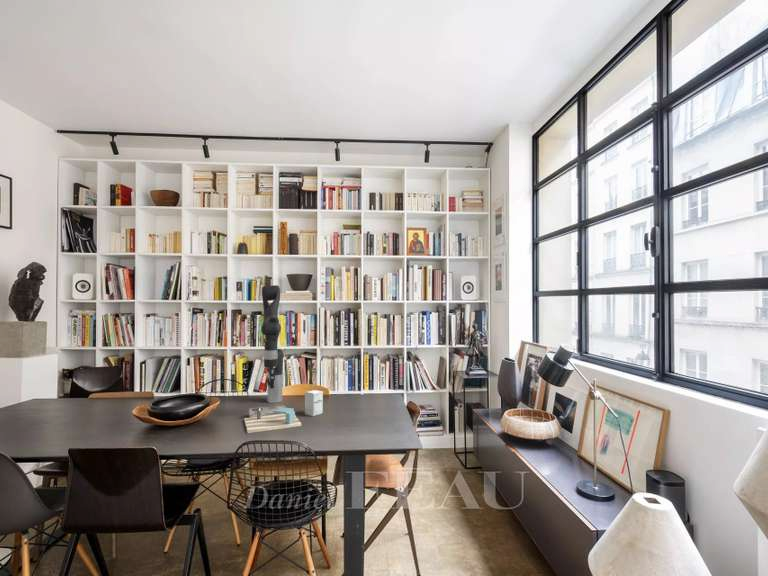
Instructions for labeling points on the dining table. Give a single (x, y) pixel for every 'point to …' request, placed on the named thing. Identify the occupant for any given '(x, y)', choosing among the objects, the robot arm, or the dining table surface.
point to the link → (264, 411)
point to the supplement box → (313, 402)
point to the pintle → (258, 412)
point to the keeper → (287, 414)
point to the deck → (269, 423)
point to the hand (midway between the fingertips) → (270, 386)
